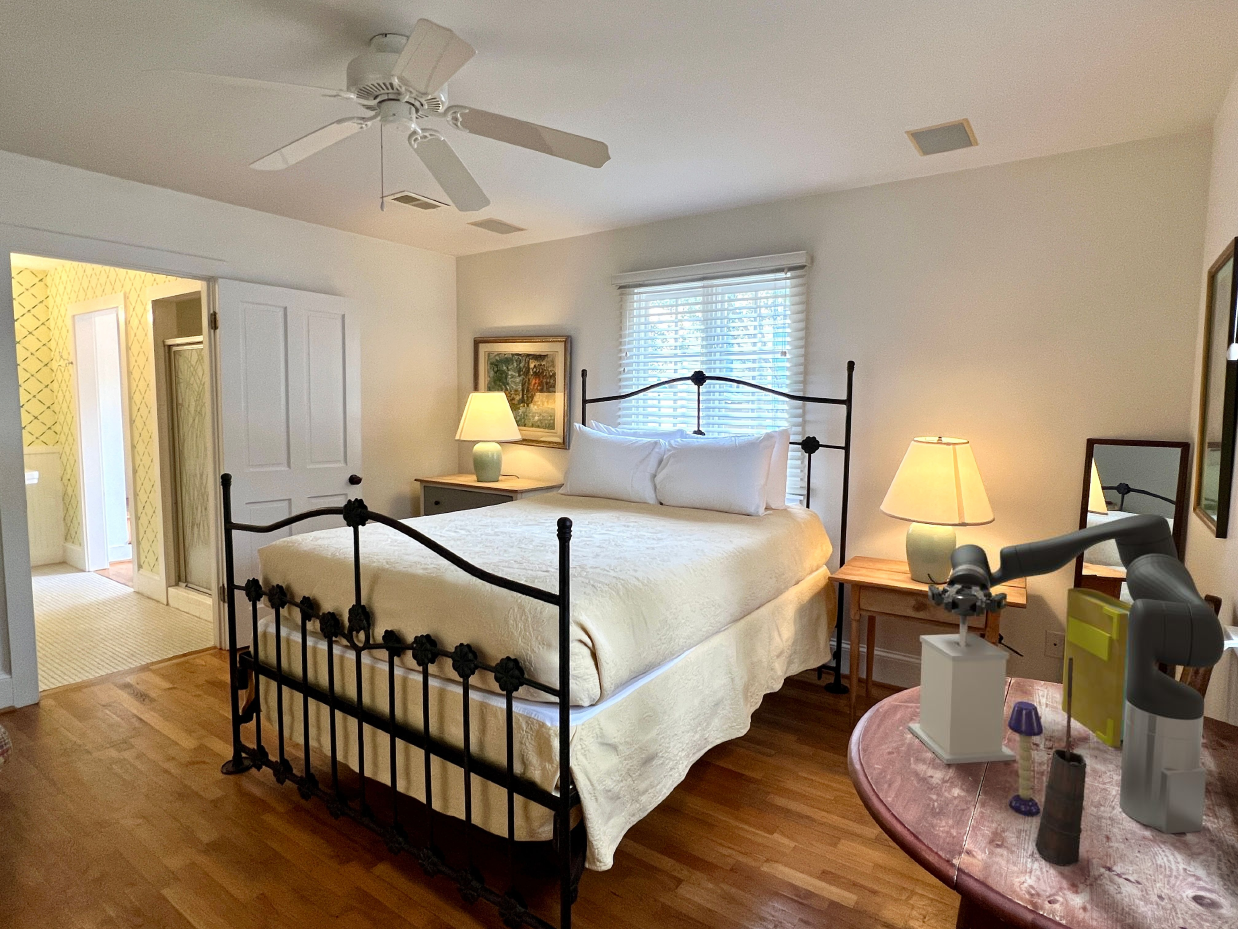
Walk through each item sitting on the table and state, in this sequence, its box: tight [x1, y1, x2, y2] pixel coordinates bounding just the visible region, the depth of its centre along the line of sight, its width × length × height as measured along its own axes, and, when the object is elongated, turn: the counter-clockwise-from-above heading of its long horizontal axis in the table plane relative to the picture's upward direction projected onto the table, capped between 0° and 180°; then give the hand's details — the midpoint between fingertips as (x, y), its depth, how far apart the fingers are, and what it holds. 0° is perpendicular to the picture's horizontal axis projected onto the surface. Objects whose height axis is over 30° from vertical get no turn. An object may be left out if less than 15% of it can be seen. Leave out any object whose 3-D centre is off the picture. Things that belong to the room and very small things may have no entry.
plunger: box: [951, 594, 977, 647], centre depth 126 cm, size 8×8×26 cm
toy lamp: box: [1007, 700, 1044, 817], centre depth 106 cm, size 5×5×17 cm
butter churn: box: [1035, 657, 1087, 867], centre depth 94 cm, size 9×10×28 cm
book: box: [1061, 587, 1132, 747], centre depth 133 cm, size 17×7×25 cm, turn 179°
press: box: [907, 633, 1017, 765], centre depth 126 cm, size 13×13×19 cm
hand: (963, 609), depth 122 cm, fingers closed on plunger, 4 cm apart
